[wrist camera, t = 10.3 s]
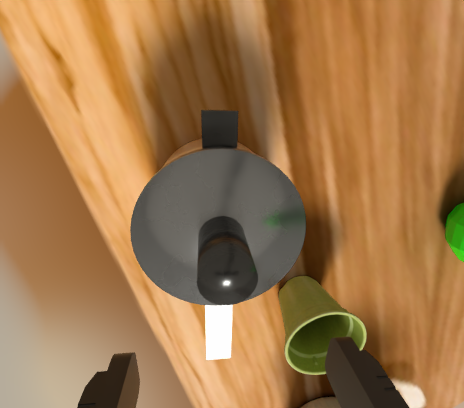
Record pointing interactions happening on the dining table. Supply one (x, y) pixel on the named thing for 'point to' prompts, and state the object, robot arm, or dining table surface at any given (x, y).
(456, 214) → the plastic bottle
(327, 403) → the canister
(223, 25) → the dining table surface
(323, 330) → the plant pot
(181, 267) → the lid
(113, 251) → the dining table surface
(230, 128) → the cooker pot
